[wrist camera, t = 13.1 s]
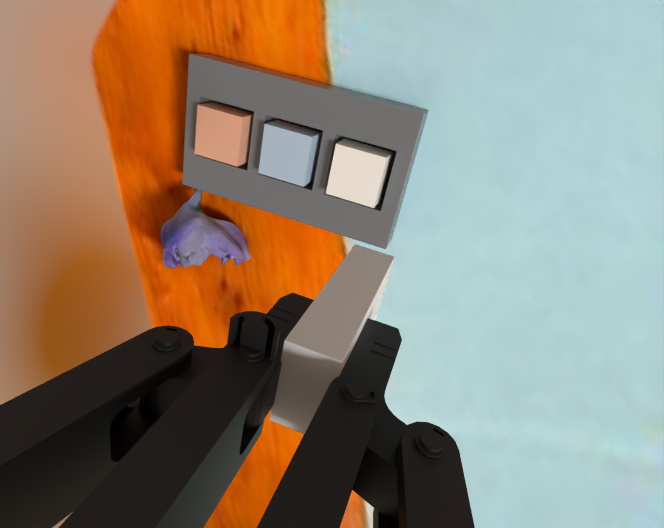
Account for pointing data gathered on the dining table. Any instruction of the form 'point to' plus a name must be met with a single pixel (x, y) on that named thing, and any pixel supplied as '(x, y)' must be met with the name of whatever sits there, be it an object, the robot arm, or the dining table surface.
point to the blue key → (289, 152)
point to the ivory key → (358, 172)
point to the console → (336, 122)
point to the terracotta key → (223, 133)
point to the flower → (200, 237)
